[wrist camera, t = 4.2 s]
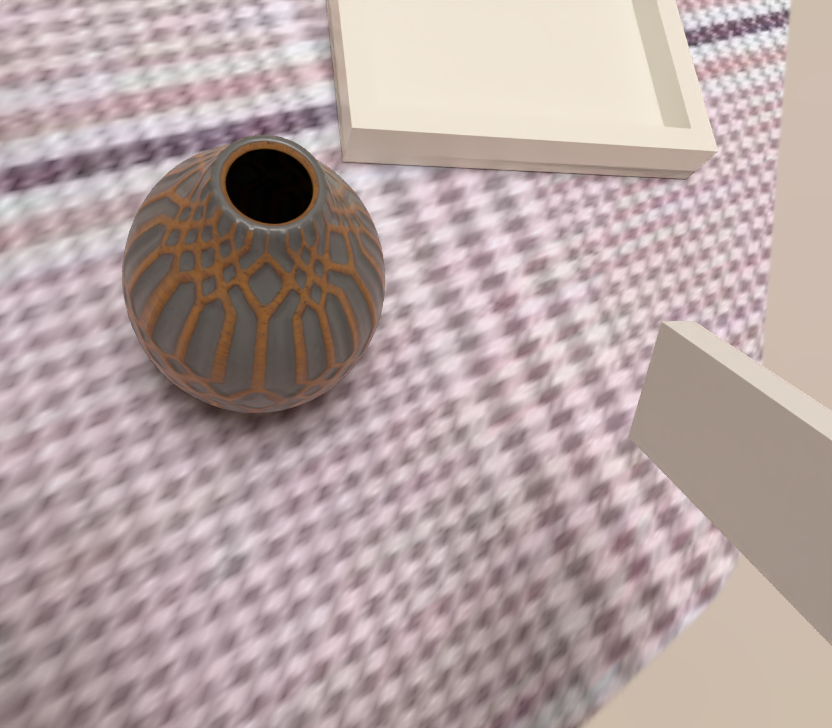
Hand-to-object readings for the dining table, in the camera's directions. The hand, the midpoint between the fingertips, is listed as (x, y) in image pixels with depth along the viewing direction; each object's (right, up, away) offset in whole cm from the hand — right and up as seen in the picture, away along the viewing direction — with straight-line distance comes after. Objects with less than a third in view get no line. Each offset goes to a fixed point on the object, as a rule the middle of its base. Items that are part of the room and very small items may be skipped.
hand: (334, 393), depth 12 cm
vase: (-4, +2, +10) cm, 11 cm away
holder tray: (+5, +15, +17) cm, 23 cm away
